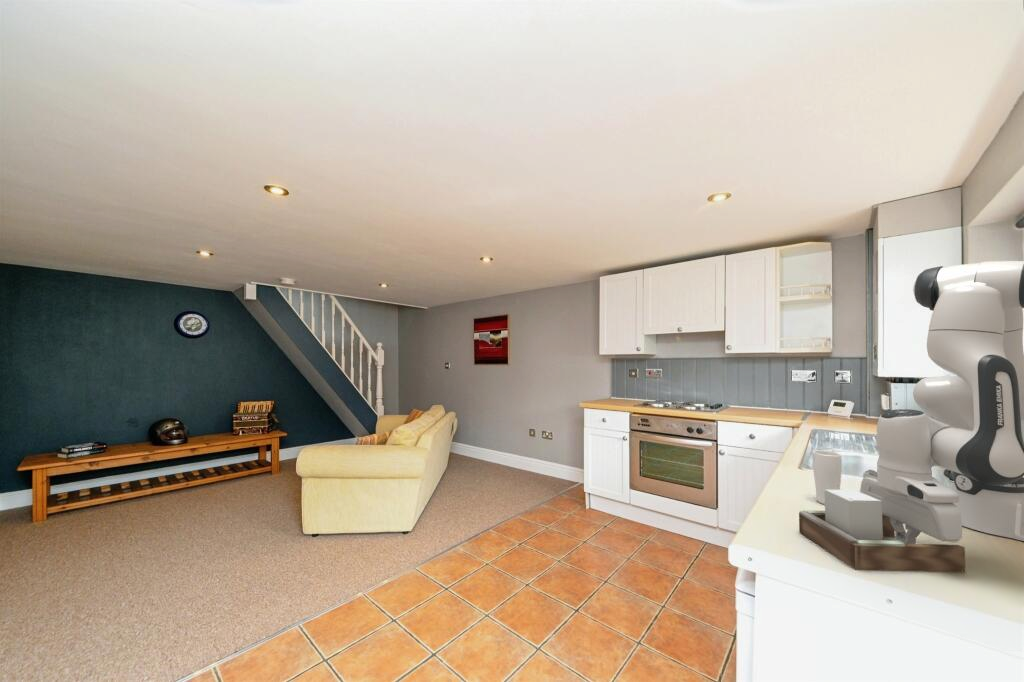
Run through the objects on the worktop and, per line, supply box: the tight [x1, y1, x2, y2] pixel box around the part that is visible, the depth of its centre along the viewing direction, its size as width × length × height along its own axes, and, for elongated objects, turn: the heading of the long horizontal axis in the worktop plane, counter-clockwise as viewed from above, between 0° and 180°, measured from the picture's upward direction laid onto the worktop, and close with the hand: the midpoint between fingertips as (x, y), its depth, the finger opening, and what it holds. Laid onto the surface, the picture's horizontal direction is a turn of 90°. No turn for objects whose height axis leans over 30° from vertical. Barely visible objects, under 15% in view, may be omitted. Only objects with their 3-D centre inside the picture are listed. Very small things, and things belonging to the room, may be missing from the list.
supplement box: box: [824, 489, 884, 540], centre depth 88 cm, size 7×7×13 cm
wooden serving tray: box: [798, 509, 967, 573], centre depth 88 cm, size 22×17×6 cm
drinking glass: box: [812, 449, 843, 505], centre depth 115 cm, size 7×7×15 cm
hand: (905, 542), depth 87 cm, fingers closed
